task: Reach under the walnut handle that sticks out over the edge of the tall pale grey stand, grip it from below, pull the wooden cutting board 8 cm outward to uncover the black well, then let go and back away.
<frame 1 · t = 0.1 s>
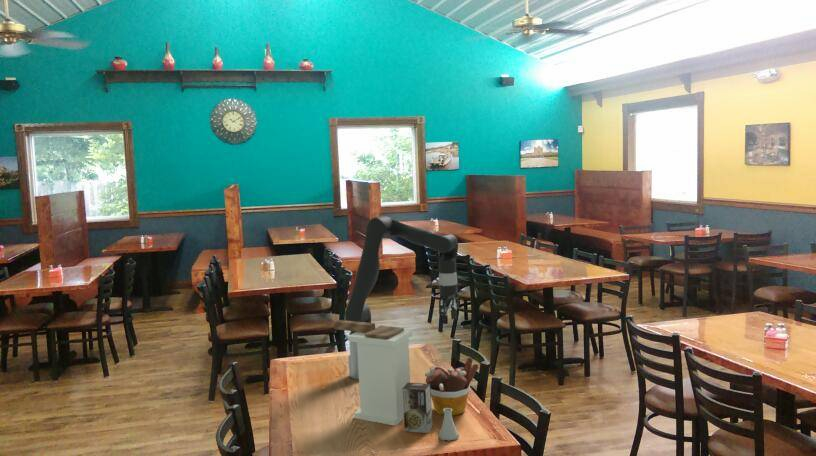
hand: (449, 321, 271), 29 cm above the table, tool pointing down, fingers open, 8 cm apart
coffee box: (418, 429, 237), on the table
bucket of meat: (451, 410, 253), on the table
flask: (448, 437, 229), on the table
wooden cutting board: (365, 327, 250), point 34 cm above the table, slide at 0.0 cm
display stand: (384, 414, 251), on the table
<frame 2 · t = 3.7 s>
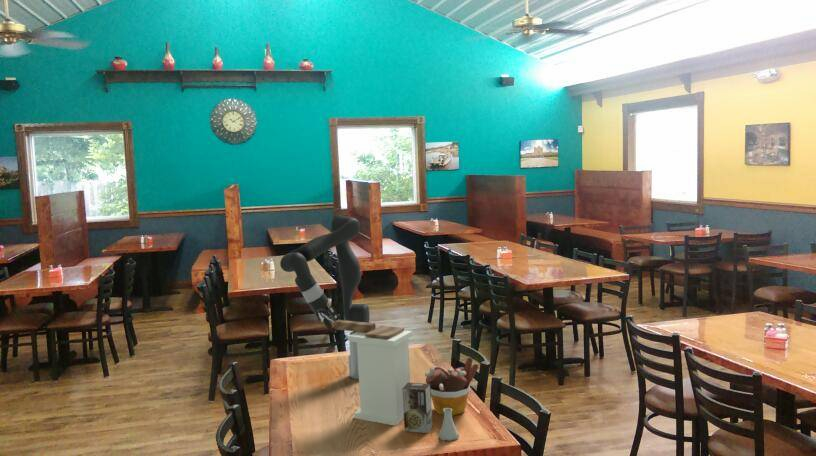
hand: (335, 328, 265), 30 cm above the table, tool tilted 30°, fingers open, 8 cm apart
wooden cutting board: (365, 327, 250), point 34 cm above the table, slide at -0.2 cm, touching hand
everything else where it was.
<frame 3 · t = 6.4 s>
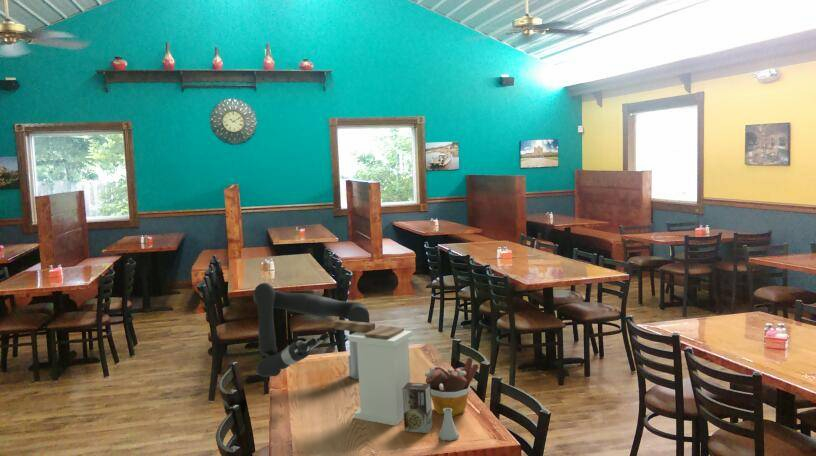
hand: (322, 337, 261), 28 cm above the table, tool pointing upward, fingers open, 8 cm apart
wooden cutting board: (365, 327, 250), point 34 cm above the table, slide at 0.0 cm
everything else where it was.
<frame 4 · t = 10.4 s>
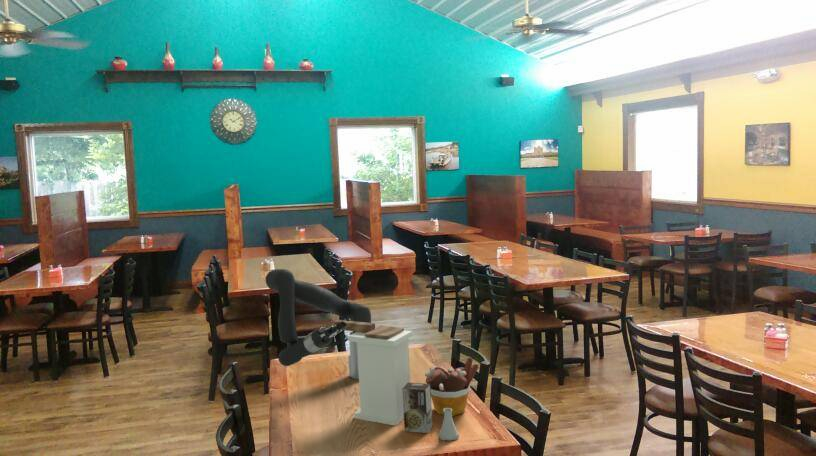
hand: (347, 322, 254), 35 cm above the table, tool pointing upward, fingers closed on wooden cutting board, 3 cm apart
wooden cutting board: (365, 327, 250), point 34 cm above the table, slide at 0.0 cm, touching gripper
everything else where it was.
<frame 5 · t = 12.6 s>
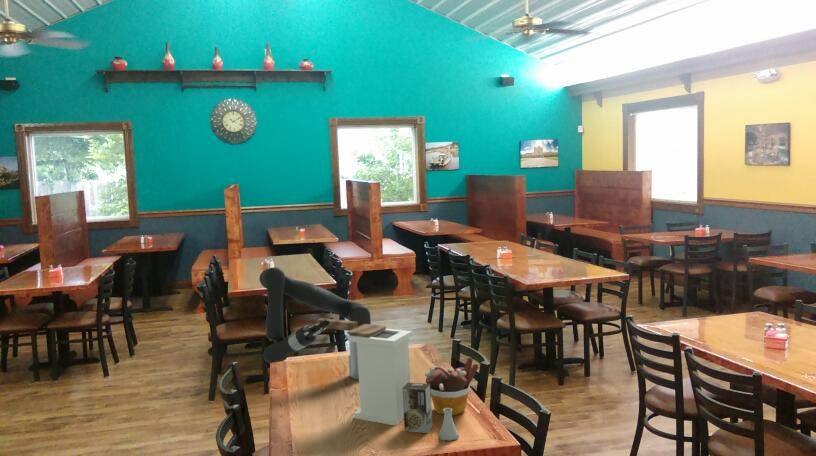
hand: (330, 320, 258), 35 cm above the table, tool pointing upward, fingers closed on wooden cutting board, 3 cm apart
wooden cutting board: (348, 325, 254), point 34 cm above the table, slide at 7.8 cm, touching gripper
everything else where it was.
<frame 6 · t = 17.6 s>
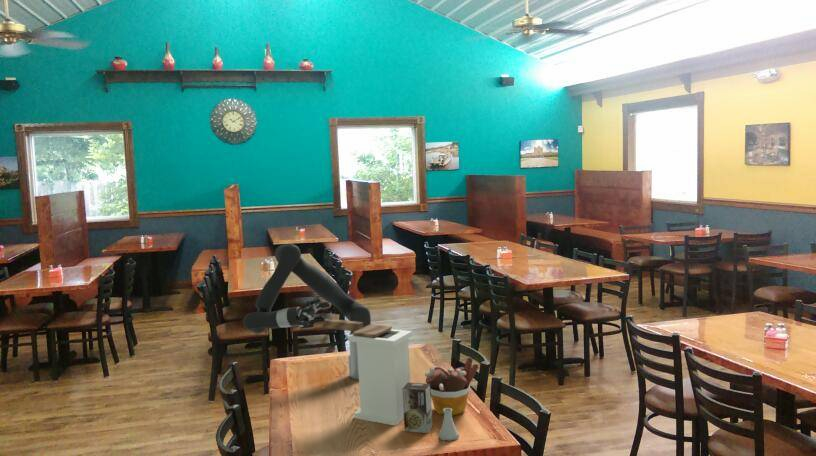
hand: (326, 311, 260), 38 cm above the table, tool horizontal, fingers open, 8 cm apart
wooden cutting board: (353, 326, 253), point 34 cm above the table, slide at 5.3 cm, touching gripper
everything else where it was.
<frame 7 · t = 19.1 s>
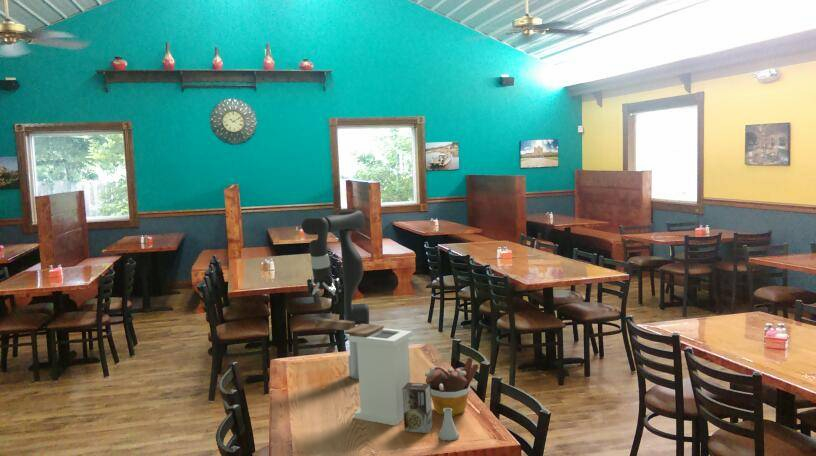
hand: (326, 302, 269), 40 cm above the table, tool pointing down, fingers open, 8 cm apart
wooden cutting board: (345, 325, 255), point 34 cm above the table, slide at 9.0 cm
everything else where it was.
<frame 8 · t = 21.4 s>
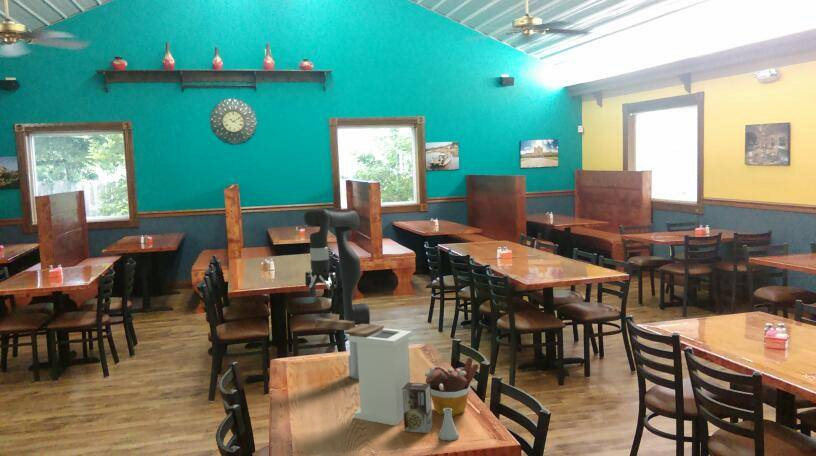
hand: (322, 297, 268), 42 cm above the table, tool pointing down, fingers open, 8 cm apart
nothing on the table moved.
at the end: wooden cutting board slide at 9.0 cm; the gripper is holding nothing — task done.
